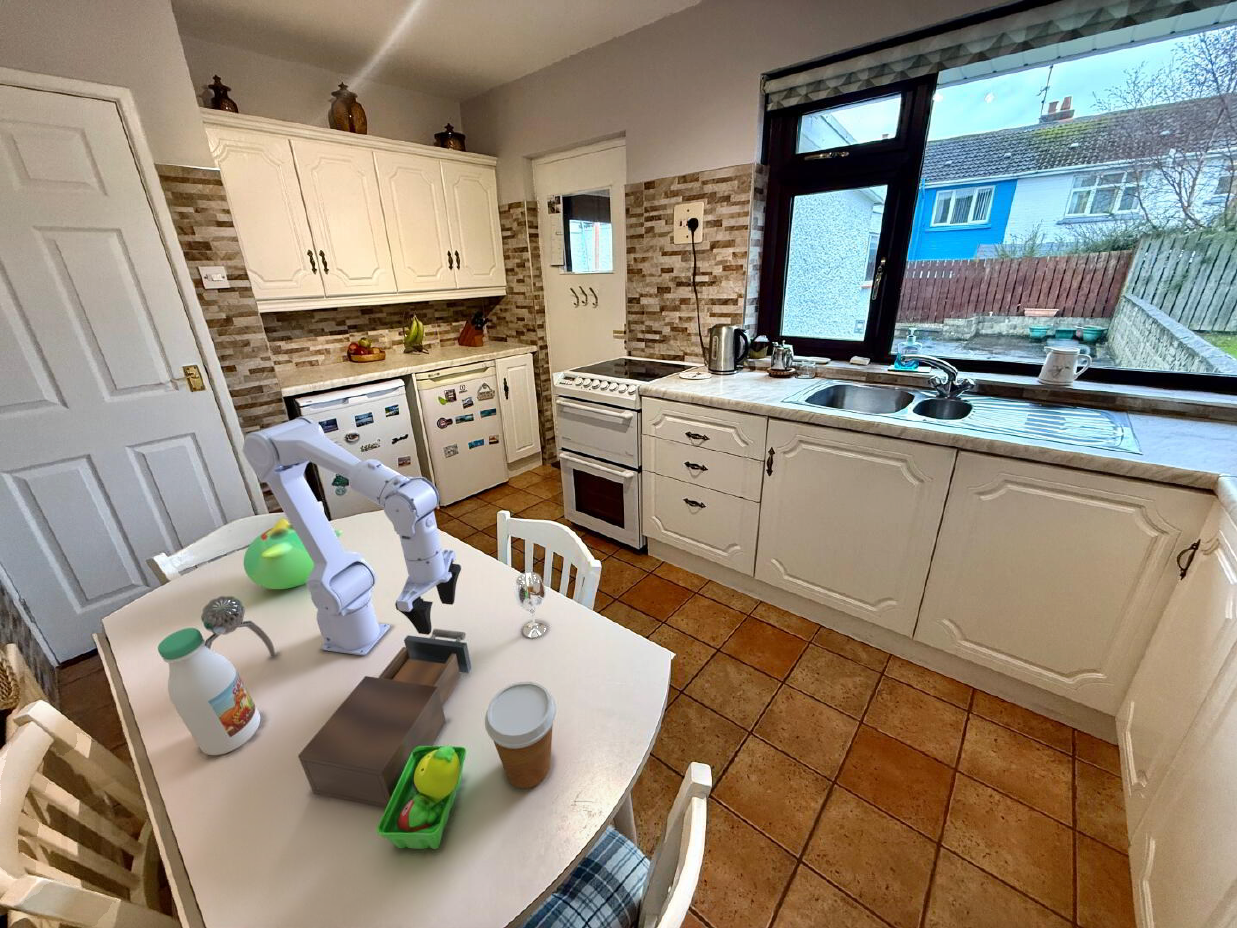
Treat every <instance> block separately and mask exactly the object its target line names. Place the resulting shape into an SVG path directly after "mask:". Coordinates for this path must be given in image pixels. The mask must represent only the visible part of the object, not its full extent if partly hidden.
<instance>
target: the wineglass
mask: <svg viewBox="0 0 1237 928" xmlns="http://www.w3.org/2000/svg"><path fill="white" fill-rule="evenodd" d="M514 600H515V602H516V603H515V604H516V605H517V607H518V608H520V609H521V610H523V611H526V612H529V614H530V616H531V622H528V623H527V624H526V625H525V626H524V627H523V629H522V634H523V635H524V636H525V637H527V638H530V639H533V638H534V639H535V638H538V637H540V636H543V634H544V633H545V632H546V629H547V627H546V625H545V624H544V623H543V622H542V621H535V614H536V610H538V609H539V608H540V607H542V606H543V605H544V602H545V601H546V588H545V584H544V582H543V579H542V577H541V575H540V574H539V573H537V572H531V571H530V572H524V573H522V574H520V575H519V576H518V577H517V578H516V580H515V584H514Z"/></svg>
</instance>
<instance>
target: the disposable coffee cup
mask: <svg viewBox="0 0 1237 928" xmlns="http://www.w3.org/2000/svg"><path fill="white" fill-rule="evenodd" d="M556 714H557V705H556V701H555V699H554V697H553V696H552V695H551V692H549V691H548V689H547V688H546V687H544V686H543V685H542V684H540V683H537V682H534V681H525V680H524V681H517V682H514V683H512V684H509V685H506V686H505V687H504V688H502V689H500V690H499V691H498V692H497V693H496V694H494V696H493V697H492V698H491V700H490V702H489V704H488V707H487V710H486V712H485V716H484V726H485V731H486V733H487V735H488V737H489V738H490V739H491V740H492V741H493V743H494V746H495V749H496V751H497V754H498V756H499V760H500V762H501V765H502V767H503V769H504V772H505V775H506V778H507V780H508V781H509V782H510V784H511V785H512V786H514V787H515V788H518V789H531V788H534V787H536V786H538V785H539V784H540V783H542V782H543V781H544V780H545V779H546V778H547V776H548V774H549V772H550V769H551V758H552V741H553V740H552V739H553V727H554V722H555V719H556Z"/></svg>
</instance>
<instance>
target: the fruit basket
mask: <svg viewBox="0 0 1237 928" xmlns="http://www.w3.org/2000/svg"><path fill="white" fill-rule="evenodd" d="M466 755H467V749H466V748H465V747H464V746H450V745H432V746H419V747H417V748H415V749H414V750H413V751H412V753H411V755H410V758H409V760H408V762H407V764H406V766H405V769H404V771H403V773H402V775H401V777H400V780H399V782H398V784H397V786H396V788H395V790H394V792H393V795H392V797H391V799H390V801H389V803H388V806H387V808H385V810H384V812H383V814H382V816H381V818H380V820H379V823H378V825H377V827H376V830H377V831H376V832H377V833H378V834H379V835H380V836H382V837H383V838H386V839H387V840H389V841H390V843H392V844H393V845H394V846H396V848H398V849H404V848H409V849H417V850H419V849H420V850H421V849H423V850H424V849H433V850H436V849H438V848H439V847H440V844H441V841H442V838H443V831H444V830H445V828H446V827H447V824H448V819H449V818H450V811H451V809H452V808H453V805H454V802H455V800H456V795H457V791H458V789H459V787H460V784H461V782H462V776H463V770H464V762H465V760H466Z"/></svg>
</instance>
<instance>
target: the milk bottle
mask: <svg viewBox="0 0 1237 928" xmlns="http://www.w3.org/2000/svg"><path fill="white" fill-rule="evenodd" d="M205 641H206V639H204V638H203V635H202V633H201V631H200V630H199V629H198V628H195V627H188V628H187V627H186V628H183V629H180V630H177V631H175V632H173V633H171V634H169V635H168V636H166V637H165V638H164V639H162V640H161V641H160V643H159V644H158V646H157V651H158V653H159V655H160V657H161V658H162V660H163V661H164V662H165V663H167V664H168V670H169V675H168V680H167V691H168V696H169V699H170V702H171V703H172V705H173V707H174V709H175V710H176V713H177V714H178V715H179V717H180V719H181V721H182V723H183V724H184V725H185V727H186V728H187V730H188V732H189V734H191V736H192V738H193V739H194V741H195V742H196V744H197V746H198V748H199V749H200V750H201V751H202V753H204V754H206V755H209V756H221V755H224V754H227V753H229V752H232V751H234V750H236V749H238V748H240V747H241V746H242V745H244V744H245V743H246V742H248V741H249V740H250V739H251V738H252V737H253V736H254V735H255V733H257V730H258V728H259V726H260V724H261V715H260V712H259V709H258V707H257V706H256V704H255V702H254V701H253V698H252V696H251V694H250V693H249V690H248V689H247V687H246V685H245V684H244V681H243V680H242V678H241V676H240V674H239V672H238V670H237V669H236V667H235V666H234V665H233V664H232V662H231V661H230V660H229V659H228V658H227V657H225V656H224V655H222V654H220V653H217V652H215V651H214V650H212V649H211V648H210V649H209V648H207V647H206V646H205V645H204V644H205Z"/></svg>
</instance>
